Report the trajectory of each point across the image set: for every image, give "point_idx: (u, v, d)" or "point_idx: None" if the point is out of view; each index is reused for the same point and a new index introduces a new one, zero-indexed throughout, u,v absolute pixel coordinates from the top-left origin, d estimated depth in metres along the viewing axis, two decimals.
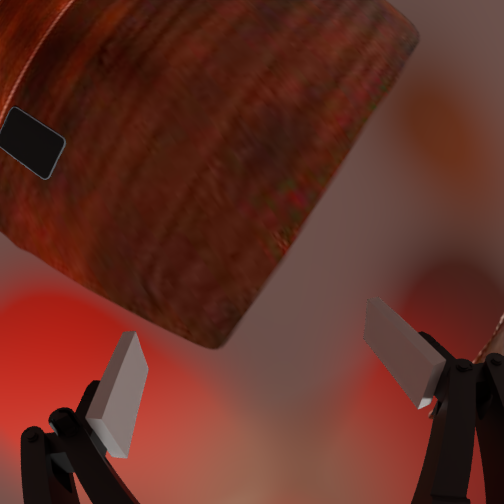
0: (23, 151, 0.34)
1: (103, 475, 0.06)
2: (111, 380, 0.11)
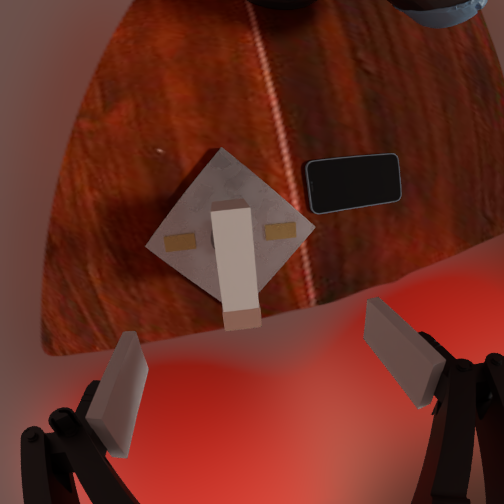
0: (360, 193, 0.39)
1: (103, 475, 0.06)
2: (111, 380, 0.11)
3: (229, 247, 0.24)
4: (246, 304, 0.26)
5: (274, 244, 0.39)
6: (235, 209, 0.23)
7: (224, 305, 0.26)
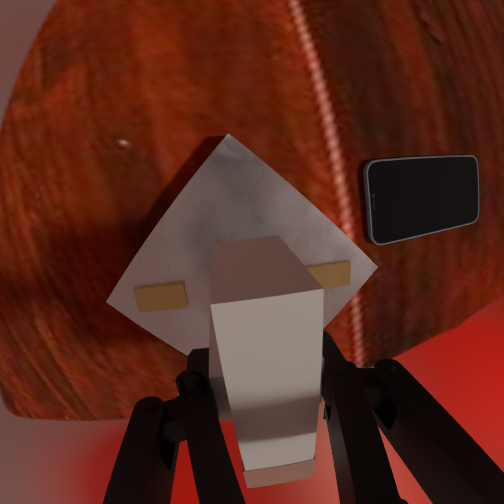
0: (435, 212, 0.24)
1: (215, 442, 0.08)
2: None
3: (261, 381, 0.09)
4: (290, 458, 0.11)
5: None
6: (281, 295, 0.08)
7: (247, 463, 0.10)
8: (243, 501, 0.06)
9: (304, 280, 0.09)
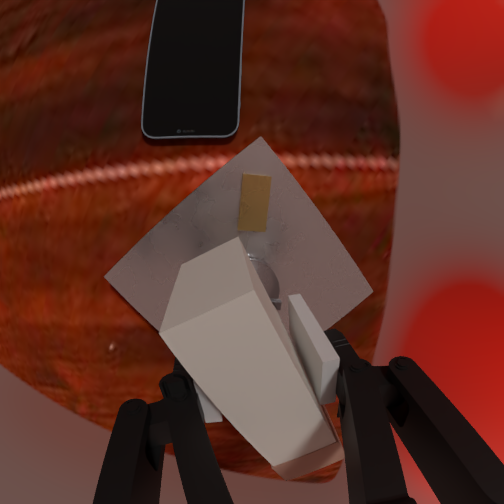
0: (216, 44, 0.18)
1: (200, 445, 0.08)
2: None
3: (238, 386, 0.09)
4: (311, 446, 0.11)
5: (276, 217, 0.21)
6: (217, 307, 0.08)
7: (271, 460, 0.11)
8: (231, 503, 0.06)
9: (240, 284, 0.09)
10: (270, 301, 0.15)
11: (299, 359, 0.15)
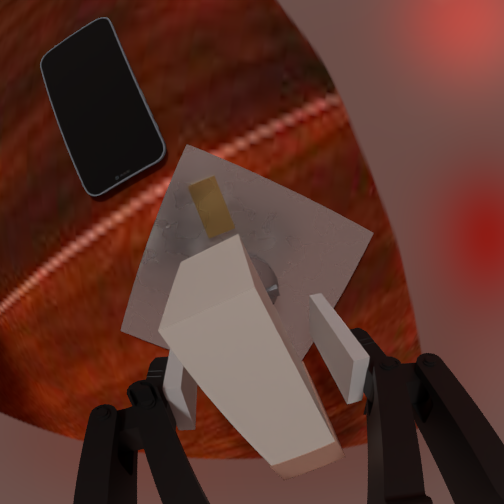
0: (110, 84, 0.18)
1: (172, 451, 0.07)
2: None
3: (237, 385, 0.09)
4: (310, 446, 0.11)
5: (239, 209, 0.21)
6: (217, 304, 0.08)
7: (269, 459, 0.11)
8: None
9: (241, 282, 0.09)
10: (269, 299, 0.15)
11: (298, 358, 0.15)
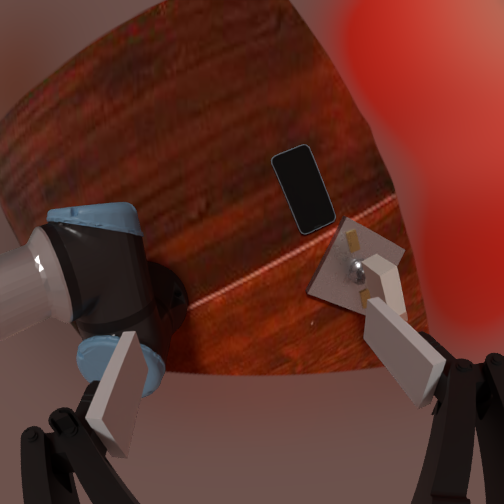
0: (313, 184, 0.50)
1: (103, 475, 0.06)
2: (111, 380, 0.11)
3: (390, 288, 0.41)
4: (400, 312, 0.43)
5: (361, 242, 0.53)
6: (390, 269, 0.40)
7: None
8: None
9: (392, 265, 0.41)
10: None
11: None
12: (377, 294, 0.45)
